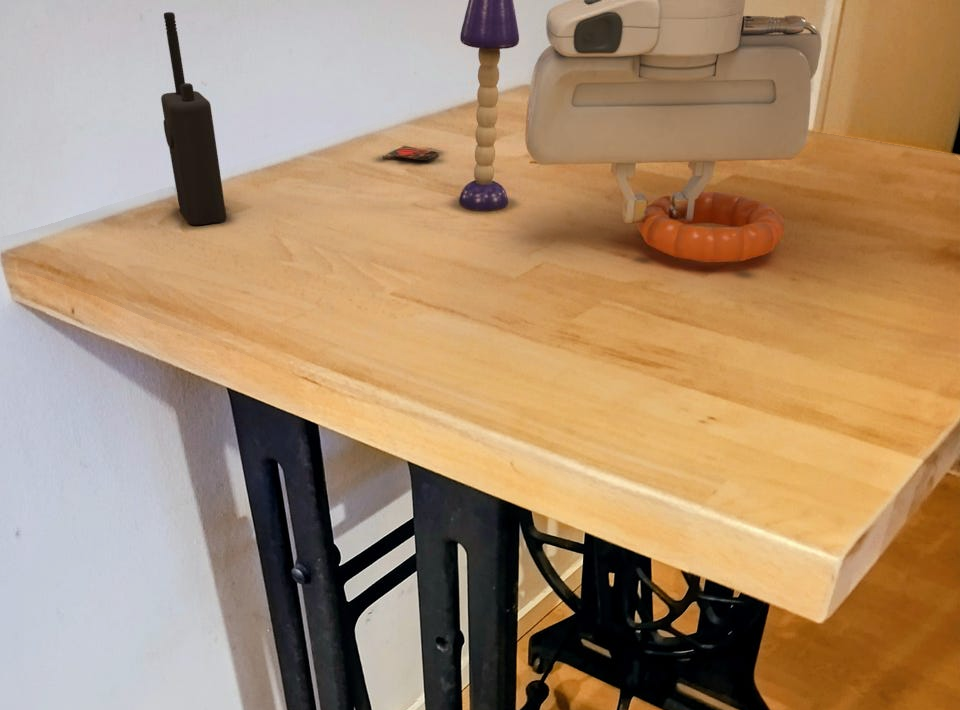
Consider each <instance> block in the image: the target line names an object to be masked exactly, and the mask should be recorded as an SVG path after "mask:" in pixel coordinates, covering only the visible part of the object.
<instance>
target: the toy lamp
mask: <svg viewBox="0 0 960 710" xmlns="http://www.w3.org/2000/svg"><path fill="white" fill-rule="evenodd" d="M517 20H518V19H517V15H516V9H515V4H514V0H468V1H467V7H466V11H465V13H464V19H463V22H462V26H461V29H460V30H461V31H460V36H459V38H460V42H461V43H462V45H465V46H467V47H470V48H474V49H478V53H477V54H478V61H479V67H478V70H477V81H478V83H479V86H478V89H477V95H476V98H477V102H478V106H477V109H476V115H475V116H476V117H475V118H476V122H477V127H476V131H475V141H476V144H477V145H476V147H475V150H474V160H475V163H476V164H475V166H474V168H473V169H474V170H473V171H474V172H473V177H474V180H472V181H470V182H468V183H467V184H466V185H465V186H464V187H463V188H462V190H461V192H460V194H459V199H458V202H459V204H460V205H461V206H462V207H464V208H466V209H468V210H473V211H481V212H486V211H487V212H489V211H498V210H502V209H504V208H506V207H508V205H509V197H508V194H507V192H506V189H505V188H504V186H503V185H502V184H500V183H499V182H497V181H495V180H494V176H495V168H494V162H495V158H496V148H495V146H494V145H495V143H496V140H497V129H496V124H497V122H498V114H499V113H498V108H497V103H498V101H499V88H498V87H497V86H498V83H499V80H500V69H499V66H498V65H499V63H500V59H501V50H502V49H503V50H504V49H510V48H511V49H512V48H515V47H517V46H518V45H519V42H520V33H519V27H518V22H517Z"/></svg>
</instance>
